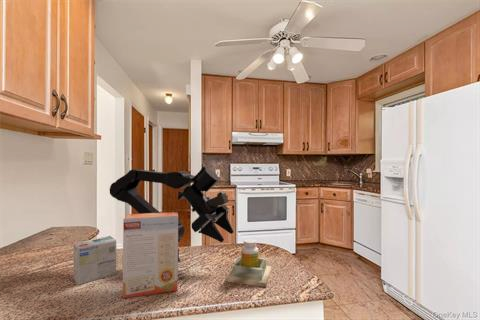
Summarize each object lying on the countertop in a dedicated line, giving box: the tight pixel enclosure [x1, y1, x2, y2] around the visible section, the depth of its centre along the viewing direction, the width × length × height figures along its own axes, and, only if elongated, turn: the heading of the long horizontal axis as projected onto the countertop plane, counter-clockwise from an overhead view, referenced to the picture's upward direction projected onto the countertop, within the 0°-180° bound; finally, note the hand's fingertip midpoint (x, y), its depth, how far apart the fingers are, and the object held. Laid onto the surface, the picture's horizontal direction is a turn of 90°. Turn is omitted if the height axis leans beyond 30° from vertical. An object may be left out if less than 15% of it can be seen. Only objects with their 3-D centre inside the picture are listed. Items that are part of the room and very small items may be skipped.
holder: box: [225, 254, 272, 288], centre depth 77 cm, size 12×12×4 cm
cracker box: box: [122, 211, 179, 299], centre depth 67 cm, size 14×6×21 cm, turn 106°
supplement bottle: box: [240, 238, 259, 268], centre depth 77 cm, size 5×5×10 cm
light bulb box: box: [73, 235, 117, 286], centre depth 75 cm, size 11×7×11 cm, turn 135°
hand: (228, 236), depth 79 cm, fingers open, 9 cm apart
